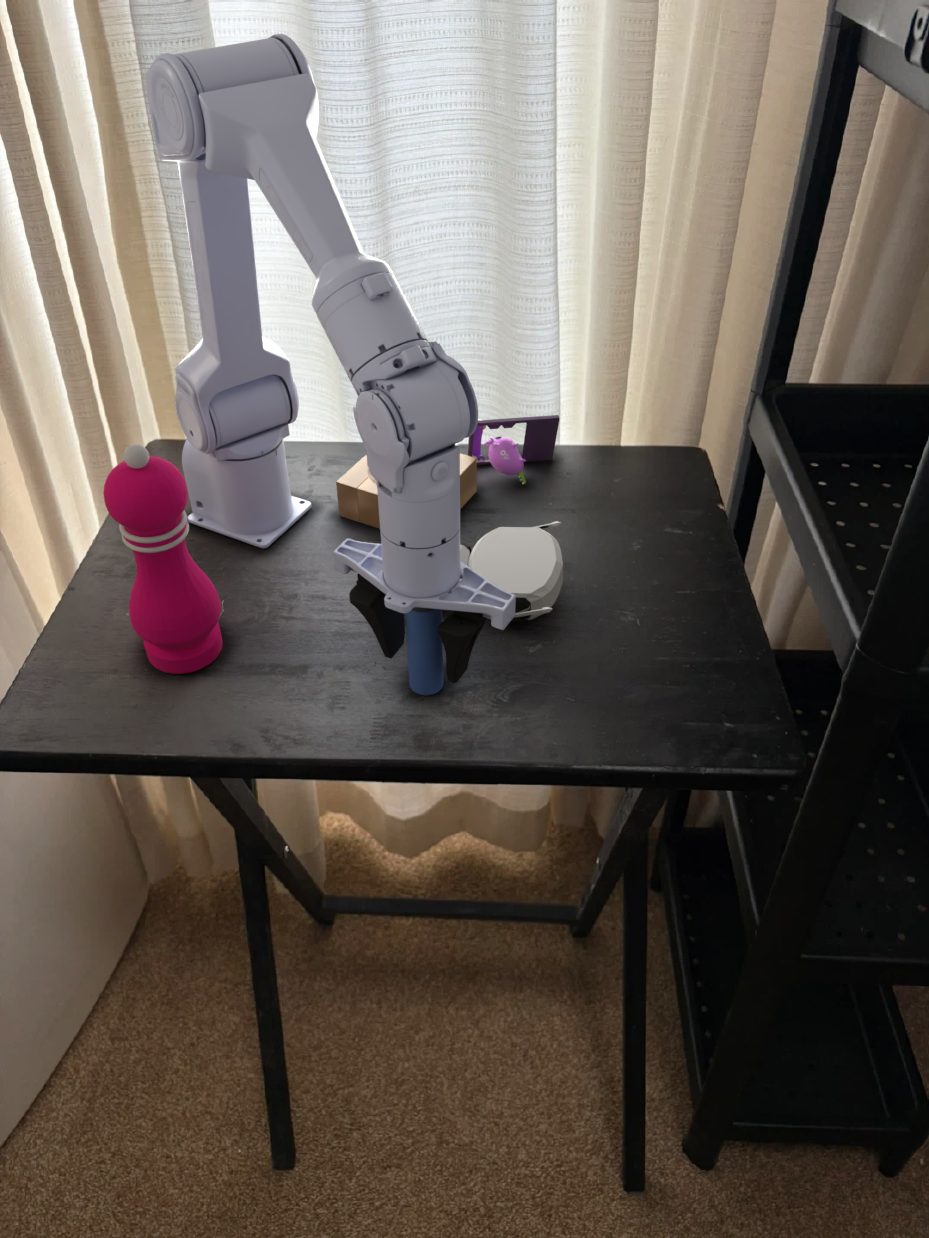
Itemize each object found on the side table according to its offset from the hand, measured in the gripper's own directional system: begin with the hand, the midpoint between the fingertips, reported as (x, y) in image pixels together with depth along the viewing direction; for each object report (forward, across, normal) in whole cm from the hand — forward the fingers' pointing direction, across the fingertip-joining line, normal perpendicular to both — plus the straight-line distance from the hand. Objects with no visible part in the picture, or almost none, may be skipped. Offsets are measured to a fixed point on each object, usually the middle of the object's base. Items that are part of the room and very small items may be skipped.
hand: (425, 662), depth 82 cm
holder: (+2, -14, +21) cm, 25 cm away
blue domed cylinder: (+2, 0, 0) cm, 2 cm away
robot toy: (+3, -2, +12) cm, 12 cm away
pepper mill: (+3, -20, -6) cm, 21 cm away
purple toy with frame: (+3, -7, +31) cm, 32 cm away
